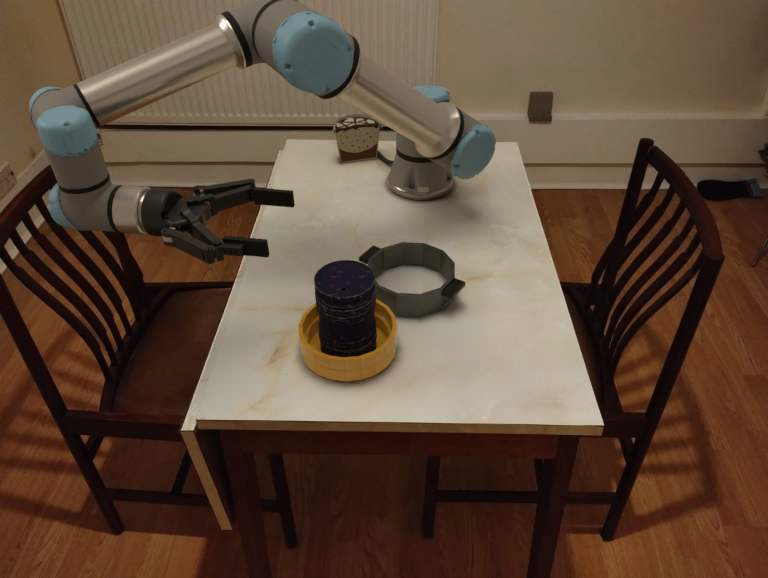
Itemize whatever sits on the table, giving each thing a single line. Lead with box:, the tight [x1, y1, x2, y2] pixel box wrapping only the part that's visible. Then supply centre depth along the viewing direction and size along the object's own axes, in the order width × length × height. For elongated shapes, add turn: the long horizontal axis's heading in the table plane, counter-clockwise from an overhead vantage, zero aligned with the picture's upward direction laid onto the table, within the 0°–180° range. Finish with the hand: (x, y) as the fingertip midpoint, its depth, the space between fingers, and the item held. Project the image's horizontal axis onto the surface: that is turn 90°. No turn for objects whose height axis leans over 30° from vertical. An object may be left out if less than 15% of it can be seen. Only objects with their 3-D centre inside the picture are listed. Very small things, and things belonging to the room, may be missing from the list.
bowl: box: [298, 299, 398, 382], centre depth 114 cm, size 16×16×6 cm
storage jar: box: [313, 259, 377, 357], centre depth 110 cm, size 10×10×15 cm
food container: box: [332, 113, 383, 164], centre depth 167 cm, size 12×6×10 cm, turn 105°
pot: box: [358, 241, 466, 318], centre depth 126 cm, size 21×16×5 cm
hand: (281, 222), depth 101 cm, fingers open, 13 cm apart
